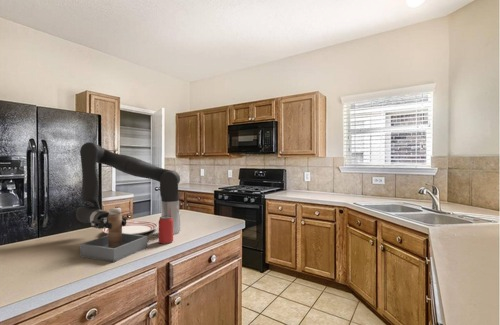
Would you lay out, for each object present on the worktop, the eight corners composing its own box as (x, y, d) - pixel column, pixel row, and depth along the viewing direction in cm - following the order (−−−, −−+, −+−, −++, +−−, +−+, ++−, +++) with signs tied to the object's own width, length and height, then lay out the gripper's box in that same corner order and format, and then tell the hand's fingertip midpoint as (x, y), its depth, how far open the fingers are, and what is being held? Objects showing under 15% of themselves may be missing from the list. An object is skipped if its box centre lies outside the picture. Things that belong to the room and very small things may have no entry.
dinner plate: (166, 226, 153) (166, 220, 153) (142, 241, 126) (142, 234, 126) (122, 225, 156) (122, 219, 156) (89, 239, 129) (89, 232, 129)
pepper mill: (115, 243, 114) (115, 207, 114) (124, 245, 112) (124, 208, 112) (105, 247, 109) (105, 209, 109) (114, 249, 107) (114, 210, 107)
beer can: (174, 239, 127) (174, 215, 127) (171, 244, 120) (170, 218, 120) (161, 240, 127) (161, 215, 127) (156, 244, 120) (156, 218, 120)
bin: (116, 242, 122) (116, 232, 122) (147, 247, 116) (147, 236, 116) (80, 256, 105) (80, 244, 105) (114, 262, 99) (113, 249, 99)
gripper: (84, 213, 114) (99, 219, 103) (117, 208, 125) (134, 213, 114) (84, 230, 114) (99, 237, 103) (117, 223, 125) (134, 230, 114)
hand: (117, 224), depth 109 cm, fingers closed on pepper mill, 5 cm apart
